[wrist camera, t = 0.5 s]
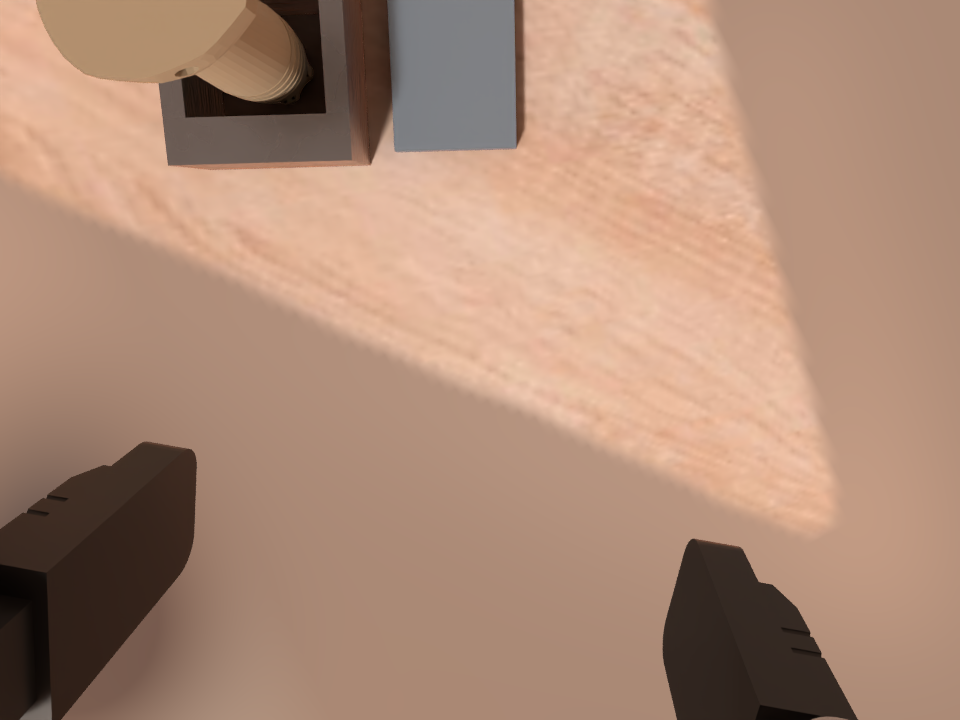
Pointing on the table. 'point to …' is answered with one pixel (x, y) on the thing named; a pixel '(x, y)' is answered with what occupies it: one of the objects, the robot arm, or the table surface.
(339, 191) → the table surface
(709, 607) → the robot arm
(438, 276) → the table surface
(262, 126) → the socket block
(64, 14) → the handle
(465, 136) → the rubber mat
